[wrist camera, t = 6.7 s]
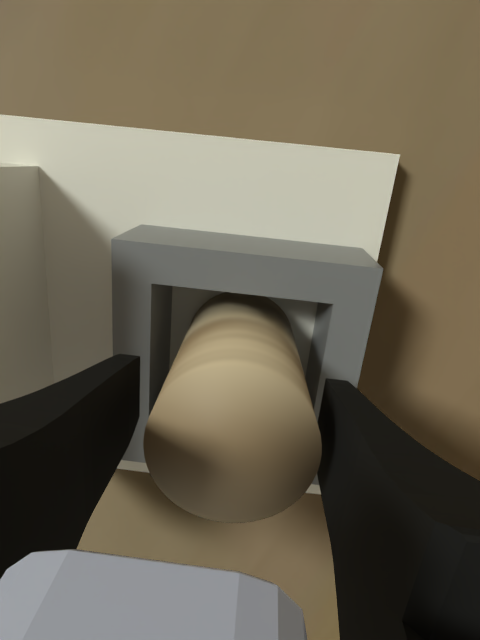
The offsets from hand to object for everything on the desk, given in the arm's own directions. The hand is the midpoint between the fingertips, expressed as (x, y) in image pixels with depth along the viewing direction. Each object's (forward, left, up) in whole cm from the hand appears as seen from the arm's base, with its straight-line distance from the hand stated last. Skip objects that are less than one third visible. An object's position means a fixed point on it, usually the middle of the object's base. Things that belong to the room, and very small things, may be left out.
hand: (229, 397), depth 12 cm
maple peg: (0, 0, -4) cm, 4 cm away
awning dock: (0, +2, -5) cm, 6 cm away
